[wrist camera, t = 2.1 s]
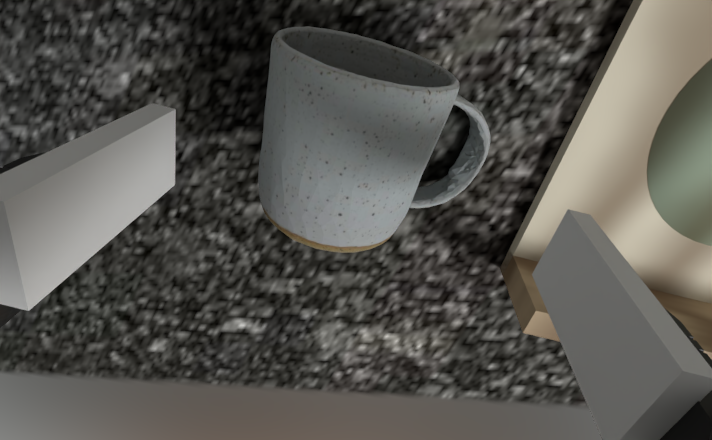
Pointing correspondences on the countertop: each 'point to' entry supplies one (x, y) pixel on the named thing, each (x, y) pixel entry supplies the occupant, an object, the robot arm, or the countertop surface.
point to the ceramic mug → (355, 137)
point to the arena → (637, 167)
